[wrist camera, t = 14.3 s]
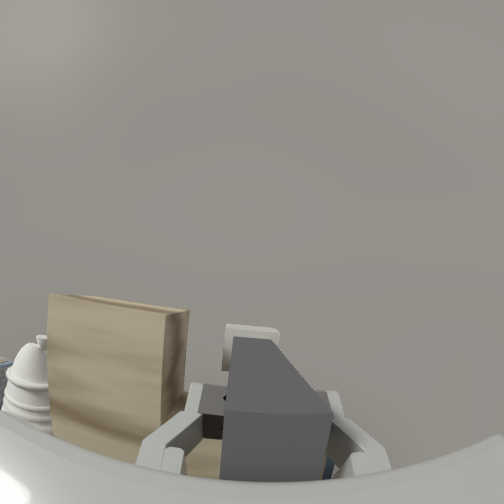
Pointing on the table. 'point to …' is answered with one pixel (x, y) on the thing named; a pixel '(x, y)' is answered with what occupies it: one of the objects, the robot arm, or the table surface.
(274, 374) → the dark gray bar
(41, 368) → the honey pot
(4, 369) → the medicine box
